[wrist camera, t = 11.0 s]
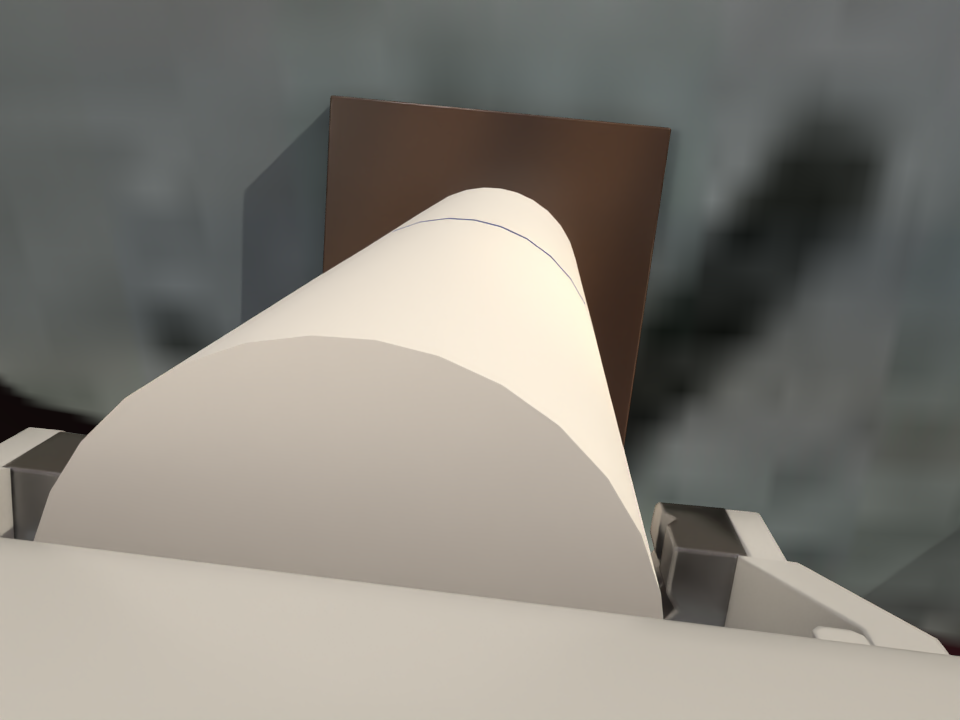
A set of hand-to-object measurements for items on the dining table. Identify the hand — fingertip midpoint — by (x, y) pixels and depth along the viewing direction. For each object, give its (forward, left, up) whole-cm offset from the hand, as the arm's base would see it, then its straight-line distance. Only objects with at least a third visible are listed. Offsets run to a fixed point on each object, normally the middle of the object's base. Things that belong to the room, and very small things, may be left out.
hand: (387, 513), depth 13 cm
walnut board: (0, 0, -22) cm, 23 cm away
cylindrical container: (0, 0, -22) cm, 22 cm away
